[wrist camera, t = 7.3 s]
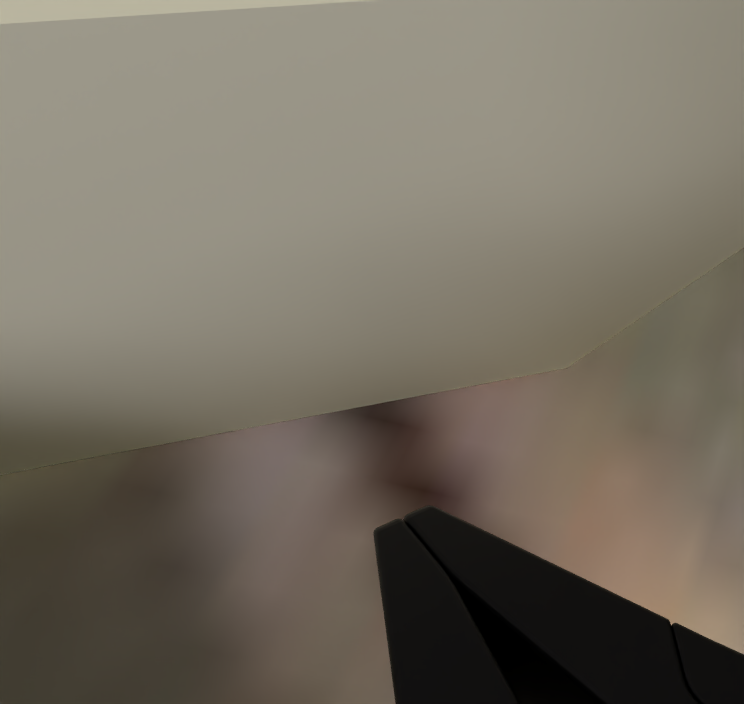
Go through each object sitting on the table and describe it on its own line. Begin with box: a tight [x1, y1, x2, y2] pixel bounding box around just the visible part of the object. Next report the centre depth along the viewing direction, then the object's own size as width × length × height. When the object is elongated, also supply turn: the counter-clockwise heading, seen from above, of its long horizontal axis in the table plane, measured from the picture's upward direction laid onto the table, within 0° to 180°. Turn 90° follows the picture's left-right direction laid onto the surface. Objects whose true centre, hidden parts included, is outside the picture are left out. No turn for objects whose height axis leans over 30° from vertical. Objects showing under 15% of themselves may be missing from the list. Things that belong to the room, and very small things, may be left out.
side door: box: [0, 0, 744, 475], centre depth 10 cm, size 18×2×12 cm, turn 103°
